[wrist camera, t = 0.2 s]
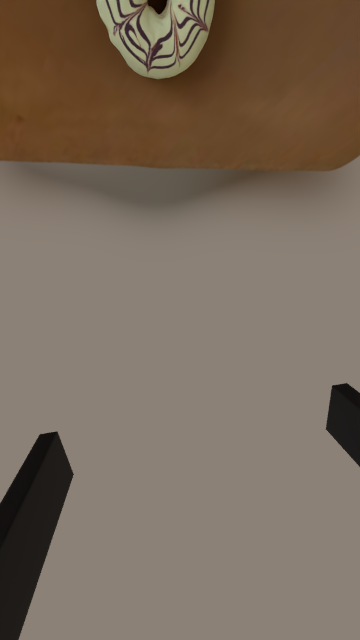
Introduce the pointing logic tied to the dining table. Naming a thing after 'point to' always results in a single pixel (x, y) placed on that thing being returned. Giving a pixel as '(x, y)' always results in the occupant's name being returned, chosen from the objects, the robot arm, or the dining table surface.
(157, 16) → the decorated donut
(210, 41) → the dining table surface
